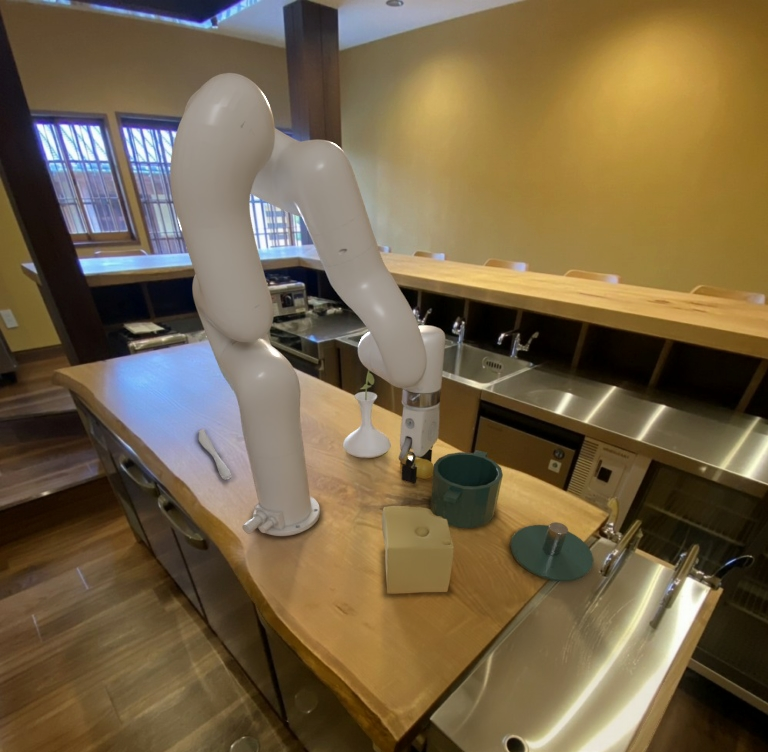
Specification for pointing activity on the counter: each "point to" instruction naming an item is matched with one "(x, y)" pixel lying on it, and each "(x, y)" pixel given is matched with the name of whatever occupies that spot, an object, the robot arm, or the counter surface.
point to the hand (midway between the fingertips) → (416, 471)
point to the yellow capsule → (422, 467)
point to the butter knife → (214, 455)
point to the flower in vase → (366, 429)
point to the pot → (465, 488)
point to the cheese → (416, 550)
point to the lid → (551, 552)
